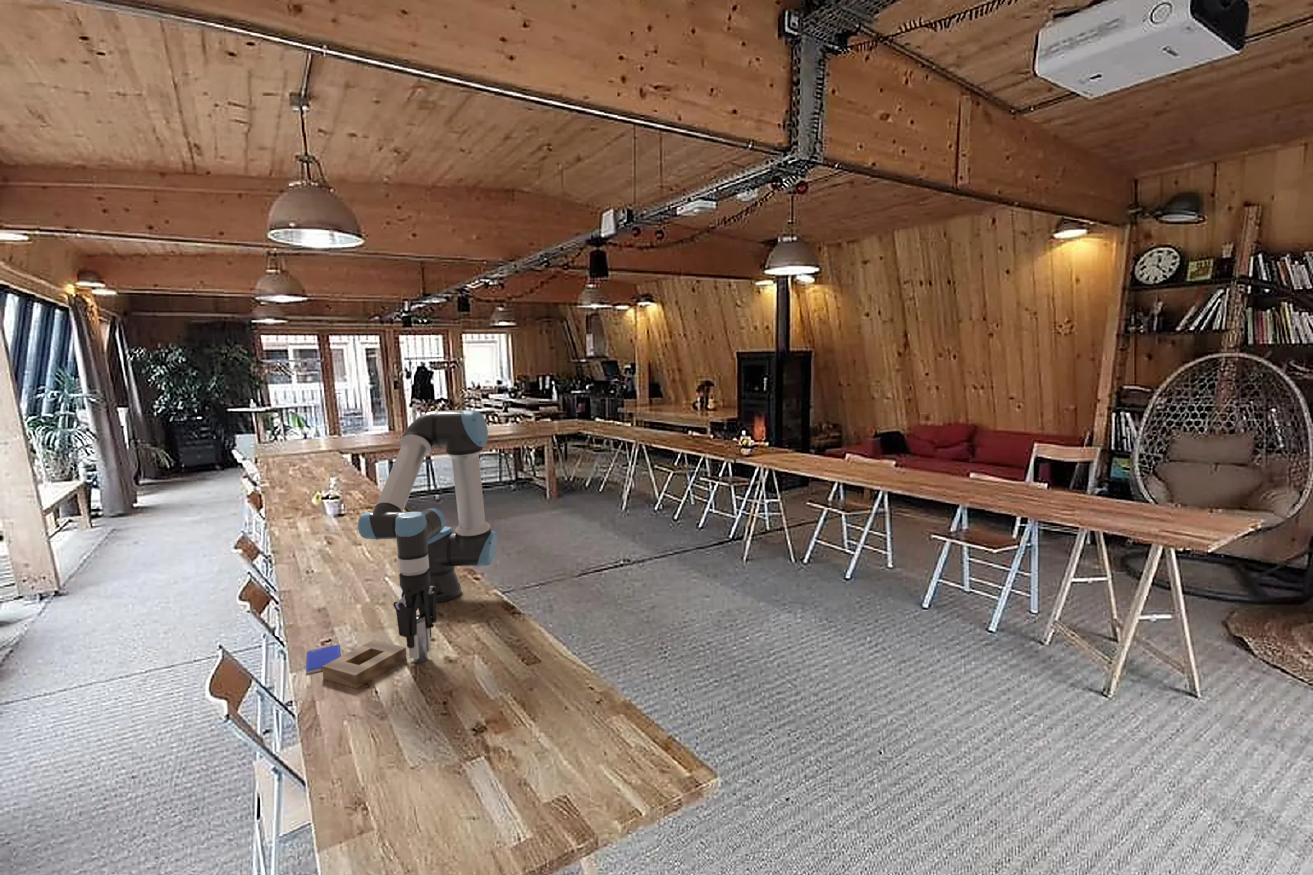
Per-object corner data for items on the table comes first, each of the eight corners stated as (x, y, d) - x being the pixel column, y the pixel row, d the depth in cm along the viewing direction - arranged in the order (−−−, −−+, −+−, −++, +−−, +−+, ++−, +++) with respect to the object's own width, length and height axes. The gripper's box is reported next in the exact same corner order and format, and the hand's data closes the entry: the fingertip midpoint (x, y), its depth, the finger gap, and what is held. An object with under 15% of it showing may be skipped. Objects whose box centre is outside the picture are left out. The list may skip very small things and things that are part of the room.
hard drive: (306, 651, 171) (305, 670, 160) (339, 644, 174) (340, 662, 164) (307, 656, 171) (306, 676, 160) (340, 649, 175) (341, 668, 164)
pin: (420, 655, 169) (417, 613, 167) (431, 657, 167) (428, 615, 165) (410, 661, 165) (407, 619, 164) (420, 664, 164) (417, 621, 162)
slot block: (374, 651, 172) (373, 639, 171) (406, 659, 167) (405, 647, 166) (323, 679, 157) (322, 666, 157) (356, 688, 152) (355, 675, 152)
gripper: (426, 559, 172) (432, 638, 175) (378, 579, 157) (385, 665, 160) (447, 562, 169) (453, 643, 172) (400, 583, 154) (406, 671, 157)
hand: (420, 653), depth 166 cm, fingers closed on pin, 4 cm apart
